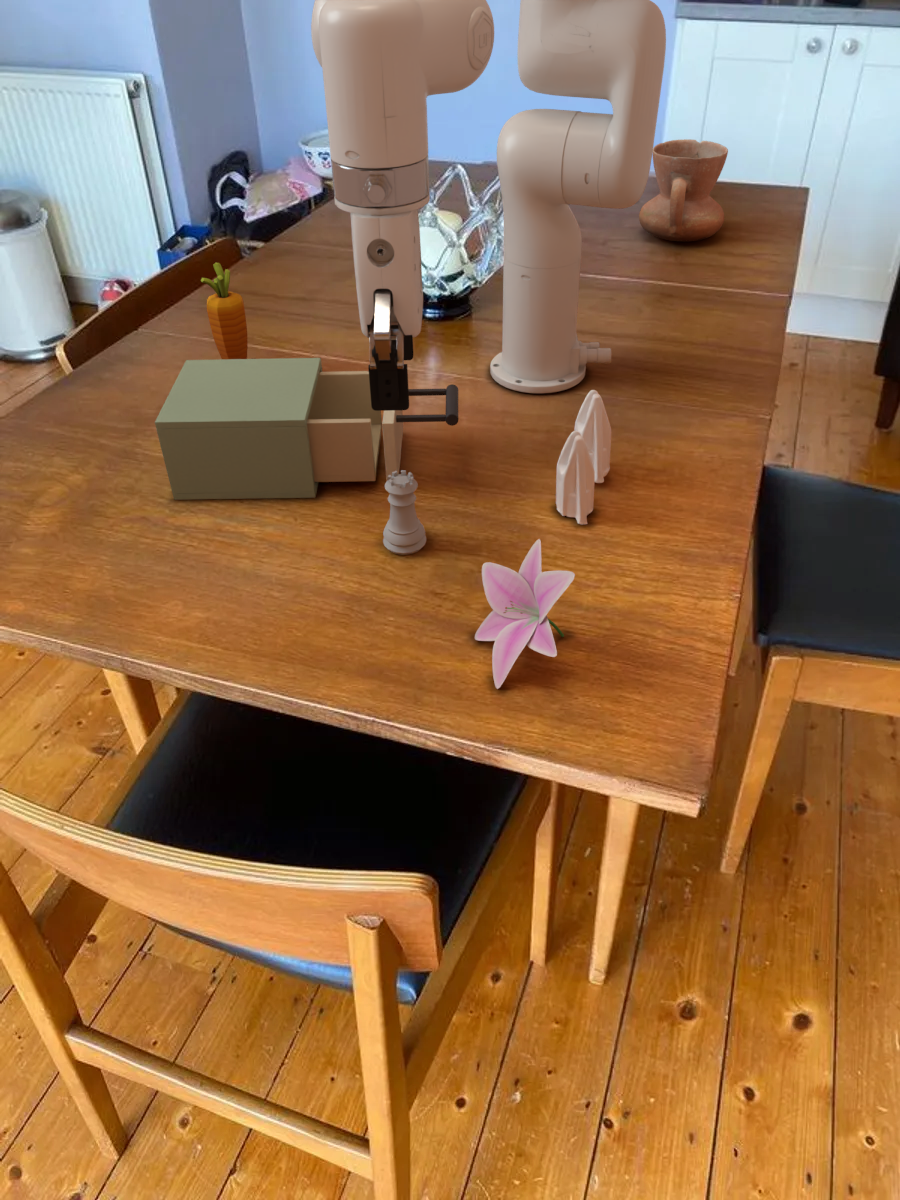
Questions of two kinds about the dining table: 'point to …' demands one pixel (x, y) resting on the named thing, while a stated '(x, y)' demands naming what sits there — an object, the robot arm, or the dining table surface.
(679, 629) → the dining table surface
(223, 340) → the carrot
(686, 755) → the dining table surface
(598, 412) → the shaker set
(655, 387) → the dining table surface
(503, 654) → the lily
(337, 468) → the drawer
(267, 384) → the cabinet
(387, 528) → the rook chess piece
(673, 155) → the ceramic jug
